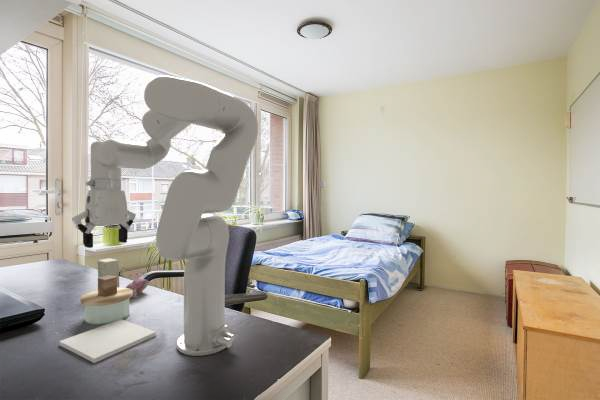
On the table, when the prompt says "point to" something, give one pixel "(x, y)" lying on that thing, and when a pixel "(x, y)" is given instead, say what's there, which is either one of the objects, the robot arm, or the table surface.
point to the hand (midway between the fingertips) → (106, 244)
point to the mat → (107, 340)
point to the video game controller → (138, 286)
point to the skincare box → (108, 268)
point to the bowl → (106, 313)
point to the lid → (106, 293)
